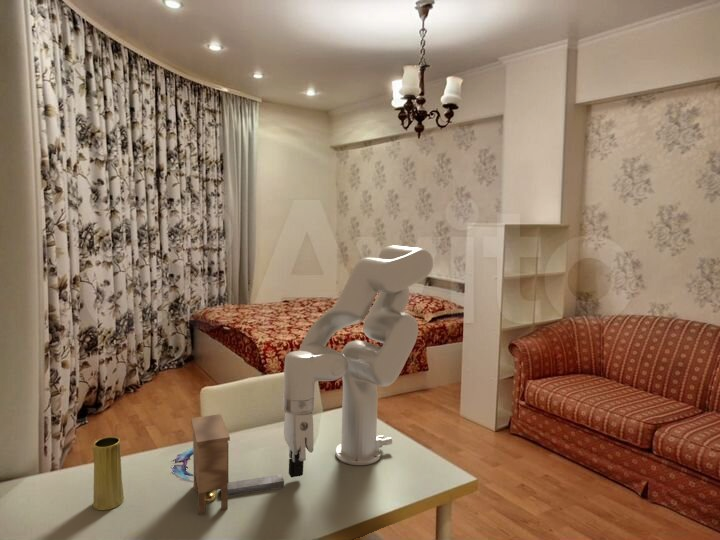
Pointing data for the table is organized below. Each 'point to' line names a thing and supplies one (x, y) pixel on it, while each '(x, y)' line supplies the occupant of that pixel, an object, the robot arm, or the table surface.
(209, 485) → the cabinet
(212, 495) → the token
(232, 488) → the bar
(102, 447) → the vase
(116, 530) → the table surface
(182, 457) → the decorative blades
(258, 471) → the table surface
